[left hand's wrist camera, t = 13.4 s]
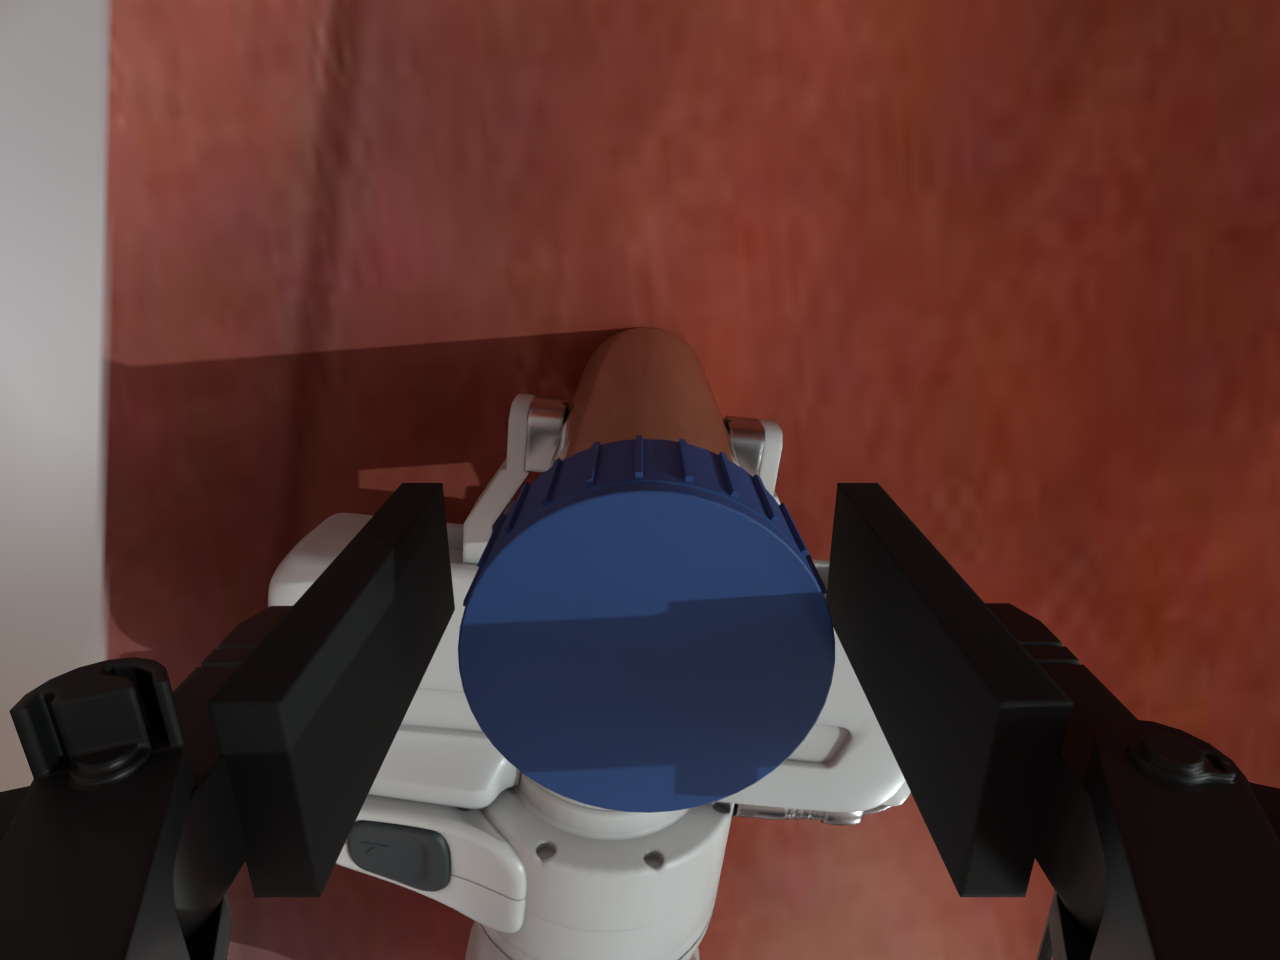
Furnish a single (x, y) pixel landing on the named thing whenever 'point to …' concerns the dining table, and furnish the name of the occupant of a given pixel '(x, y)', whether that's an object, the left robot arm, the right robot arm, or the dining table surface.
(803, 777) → the right robot arm
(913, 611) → the left robot arm
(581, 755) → the lid
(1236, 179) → the dining table surface
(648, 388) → the jar
